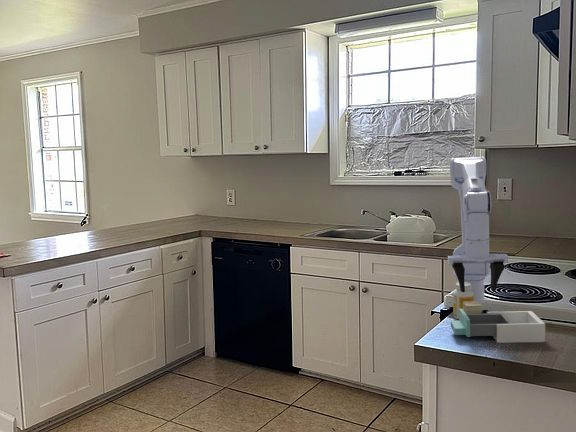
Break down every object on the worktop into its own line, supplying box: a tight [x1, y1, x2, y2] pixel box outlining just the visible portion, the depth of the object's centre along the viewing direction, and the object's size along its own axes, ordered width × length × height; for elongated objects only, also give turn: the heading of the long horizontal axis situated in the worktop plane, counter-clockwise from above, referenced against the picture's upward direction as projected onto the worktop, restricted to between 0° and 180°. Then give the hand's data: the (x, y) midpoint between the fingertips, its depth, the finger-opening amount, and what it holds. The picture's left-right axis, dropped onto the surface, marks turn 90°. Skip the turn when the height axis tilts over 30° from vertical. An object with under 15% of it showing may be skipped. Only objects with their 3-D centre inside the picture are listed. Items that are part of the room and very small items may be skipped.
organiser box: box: [486, 310, 546, 344], centre depth 134 cm, size 10×11×4 cm
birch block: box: [463, 301, 483, 315], centre depth 143 cm, size 4×4×6 cm
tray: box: [450, 309, 510, 338], centre depth 135 cm, size 9×13×4 cm
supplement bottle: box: [452, 282, 474, 320], centre depth 149 cm, size 5×5×10 cm
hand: (477, 290), depth 139 cm, fingers open, 7 cm apart
